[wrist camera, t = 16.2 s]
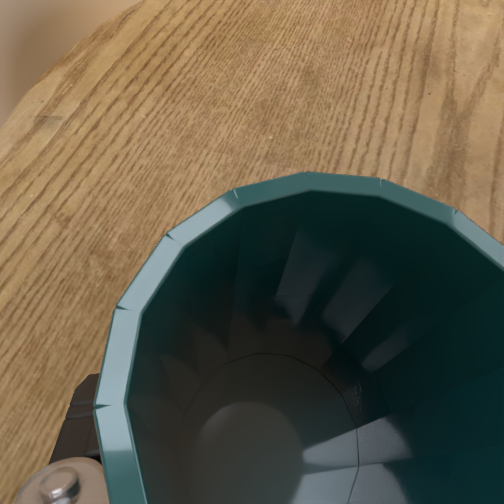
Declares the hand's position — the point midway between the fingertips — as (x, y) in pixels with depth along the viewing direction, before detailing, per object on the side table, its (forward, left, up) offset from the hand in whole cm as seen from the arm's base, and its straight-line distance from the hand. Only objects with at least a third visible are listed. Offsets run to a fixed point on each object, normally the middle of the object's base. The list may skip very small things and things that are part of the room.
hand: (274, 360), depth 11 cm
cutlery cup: (0, -2, -4) cm, 5 cm away
